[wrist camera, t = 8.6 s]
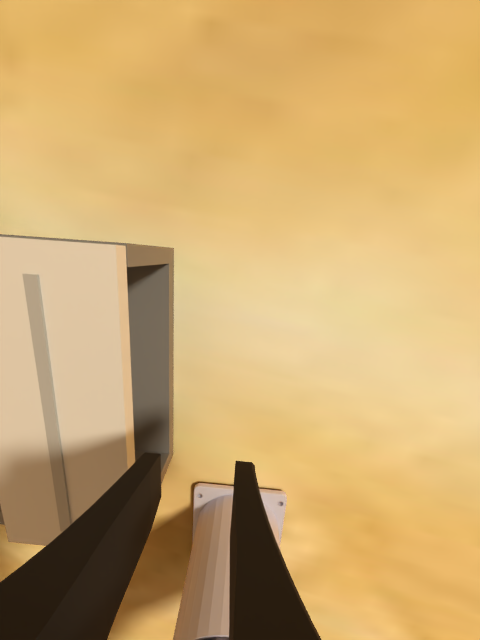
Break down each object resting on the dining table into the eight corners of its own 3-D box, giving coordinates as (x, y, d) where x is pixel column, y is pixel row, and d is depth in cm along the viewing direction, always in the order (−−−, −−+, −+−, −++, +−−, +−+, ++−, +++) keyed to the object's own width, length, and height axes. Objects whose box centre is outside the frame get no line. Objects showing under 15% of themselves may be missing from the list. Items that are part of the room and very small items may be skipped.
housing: (173, 454, 21) (139, 538, 15) (-30, 434, 22) (-147, 508, 15) (173, 248, 17) (126, 243, 11) (-79, 230, 18) (-268, 215, 11)
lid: (138, 539, 15) (131, 557, 14) (21, 527, 15) (6, 544, 14) (125, 245, 11) (114, 244, 10) (-38, 234, 11) (-64, 231, 10)
